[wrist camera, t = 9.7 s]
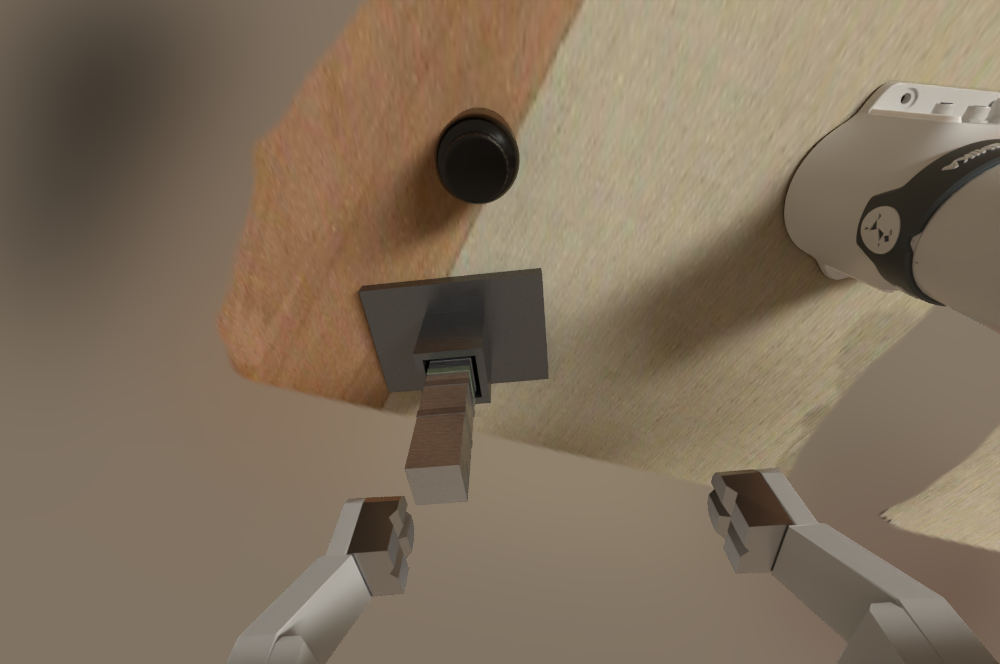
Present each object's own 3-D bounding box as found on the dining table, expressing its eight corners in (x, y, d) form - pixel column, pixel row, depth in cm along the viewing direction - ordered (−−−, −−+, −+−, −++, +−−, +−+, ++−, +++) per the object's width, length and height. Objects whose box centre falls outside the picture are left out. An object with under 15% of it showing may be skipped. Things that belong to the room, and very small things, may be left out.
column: (471, 345, 45) (459, 464, 31) (477, 376, 47) (468, 501, 34) (432, 348, 45) (403, 468, 32) (439, 380, 47) (415, 505, 34)
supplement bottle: (495, 195, 44) (494, 233, 34) (433, 163, 42) (411, 192, 32) (529, 129, 41) (539, 148, 31) (462, 91, 39) (449, 97, 29)
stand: (540, 268, 48) (550, 313, 39) (547, 371, 55) (556, 430, 46) (362, 285, 49) (331, 334, 40) (391, 385, 56) (370, 444, 47)
